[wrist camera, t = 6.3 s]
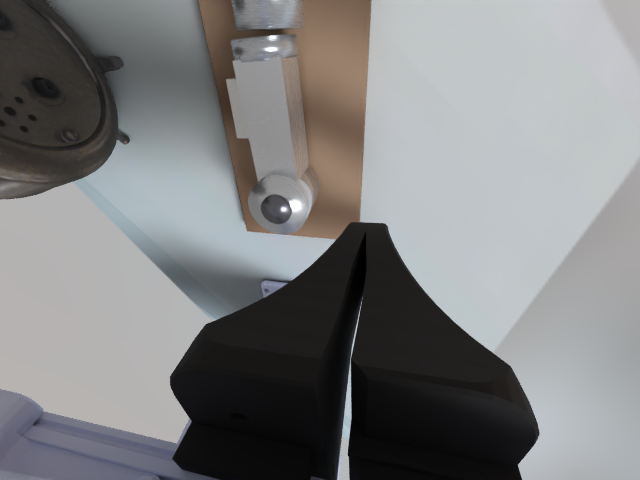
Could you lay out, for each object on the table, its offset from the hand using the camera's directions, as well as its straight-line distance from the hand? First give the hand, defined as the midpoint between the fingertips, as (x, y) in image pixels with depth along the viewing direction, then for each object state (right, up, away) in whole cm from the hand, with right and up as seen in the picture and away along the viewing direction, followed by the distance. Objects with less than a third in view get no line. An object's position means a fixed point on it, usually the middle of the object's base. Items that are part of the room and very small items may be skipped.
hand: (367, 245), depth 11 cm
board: (-3, +8, +8) cm, 12 cm away
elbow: (-4, +7, +7) cm, 10 cm away
